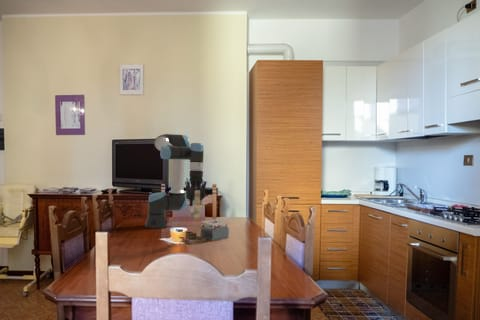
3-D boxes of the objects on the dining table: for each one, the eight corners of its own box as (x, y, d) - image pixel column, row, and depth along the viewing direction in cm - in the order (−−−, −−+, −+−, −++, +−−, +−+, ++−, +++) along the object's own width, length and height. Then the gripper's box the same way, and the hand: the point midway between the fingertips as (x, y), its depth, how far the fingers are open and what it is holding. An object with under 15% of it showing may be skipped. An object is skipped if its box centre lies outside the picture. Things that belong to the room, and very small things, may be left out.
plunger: (210, 229, 188) (210, 225, 188) (215, 228, 191) (215, 224, 191) (214, 230, 185) (214, 226, 185) (219, 229, 188) (219, 225, 188)
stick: (191, 218, 177) (191, 190, 177) (196, 217, 179) (196, 190, 180) (194, 219, 175) (195, 190, 175) (199, 218, 177) (200, 190, 177)
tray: (182, 242, 178) (182, 237, 178) (196, 239, 184) (196, 235, 184) (191, 245, 171) (191, 241, 171) (206, 243, 177) (206, 238, 177)
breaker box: (200, 237, 189) (200, 221, 189) (216, 235, 196) (216, 219, 197) (212, 242, 180) (212, 224, 180) (228, 239, 188) (228, 222, 188)
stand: (179, 237, 187) (180, 232, 187) (191, 236, 192) (191, 230, 192) (187, 240, 181) (187, 235, 181) (198, 238, 186) (198, 233, 186)
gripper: (187, 170, 169) (186, 213, 169) (212, 170, 180) (210, 211, 180) (180, 169, 175) (179, 211, 174) (204, 170, 186) (203, 209, 185)
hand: (195, 211), depth 177 cm, fingers closed on stick, 3 cm apart
